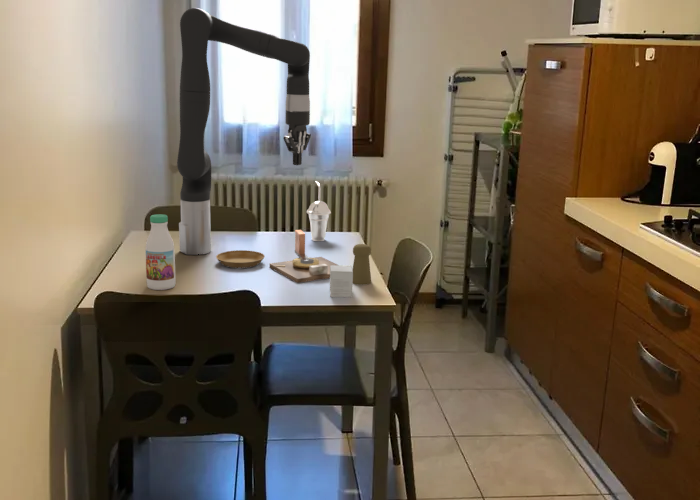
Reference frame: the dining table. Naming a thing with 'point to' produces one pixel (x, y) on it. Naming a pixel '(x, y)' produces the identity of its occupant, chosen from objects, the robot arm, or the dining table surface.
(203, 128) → the robot arm
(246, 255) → the plant saucer
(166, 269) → the milk bottle
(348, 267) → the product box
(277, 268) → the brown wooden cutting board
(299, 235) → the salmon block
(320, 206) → the cup with straw
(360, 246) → the pepper mill
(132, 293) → the dining table surface
